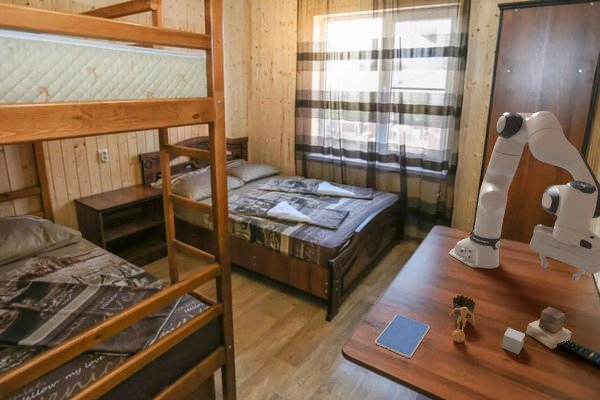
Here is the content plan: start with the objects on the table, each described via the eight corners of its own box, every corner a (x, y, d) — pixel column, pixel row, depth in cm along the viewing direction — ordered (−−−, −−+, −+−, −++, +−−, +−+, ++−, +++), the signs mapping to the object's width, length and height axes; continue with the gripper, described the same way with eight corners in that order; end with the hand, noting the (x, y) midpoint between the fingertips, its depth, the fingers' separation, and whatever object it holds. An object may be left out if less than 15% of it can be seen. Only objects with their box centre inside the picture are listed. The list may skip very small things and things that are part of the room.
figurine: (443, 338, 129) (447, 308, 125) (449, 329, 133) (453, 300, 130) (469, 349, 124) (474, 317, 120) (474, 339, 129) (479, 308, 125)
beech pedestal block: (525, 333, 132) (528, 323, 131) (543, 326, 135) (545, 317, 134) (551, 350, 124) (553, 339, 123) (569, 342, 128) (571, 332, 126)
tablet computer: (410, 360, 120) (410, 357, 120) (373, 344, 127) (373, 341, 127) (430, 328, 135) (430, 325, 135) (396, 316, 142) (396, 313, 142)
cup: (462, 328, 134) (465, 309, 132) (446, 317, 140) (448, 298, 138) (477, 322, 137) (480, 303, 135) (460, 311, 144) (463, 293, 141)
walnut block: (538, 326, 129) (541, 311, 127) (546, 321, 132) (549, 306, 130) (554, 334, 125) (557, 318, 123) (562, 329, 128) (565, 313, 126)
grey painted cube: (501, 347, 125) (504, 334, 123) (505, 340, 128) (508, 327, 127) (518, 354, 122) (521, 341, 120) (522, 346, 125) (525, 334, 124)
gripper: (530, 224, 126) (521, 261, 130) (602, 248, 109) (589, 290, 114) (540, 220, 129) (531, 257, 134) (612, 243, 113) (599, 284, 117)
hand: (559, 272), depth 124 cm, fingers open, 8 cm apart
